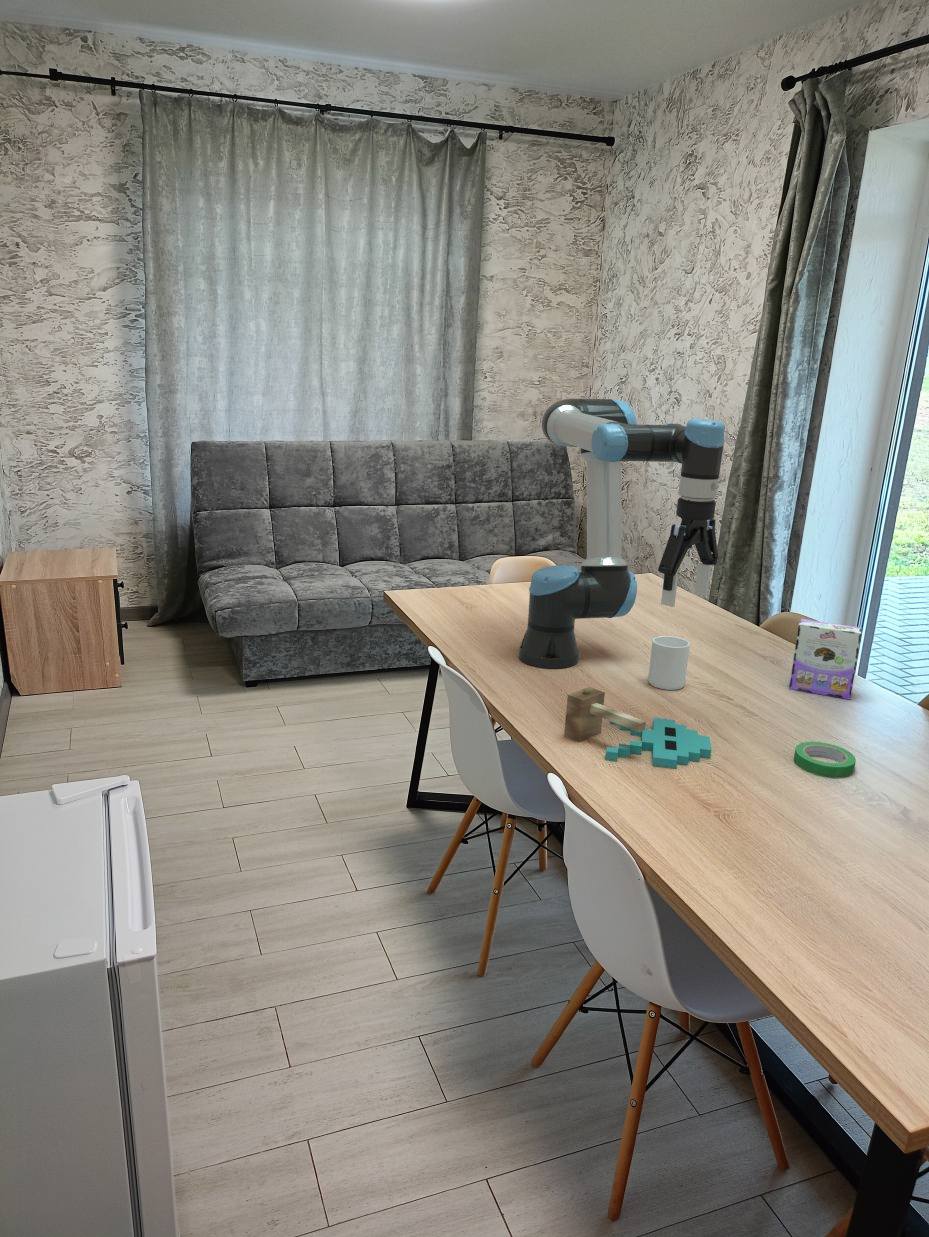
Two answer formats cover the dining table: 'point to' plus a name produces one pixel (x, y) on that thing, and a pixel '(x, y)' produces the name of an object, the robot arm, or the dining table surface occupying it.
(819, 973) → the dining table surface
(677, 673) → the mug
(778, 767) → the dining table surface
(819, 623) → the candy box
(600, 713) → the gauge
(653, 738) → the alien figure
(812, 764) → the tape roll
